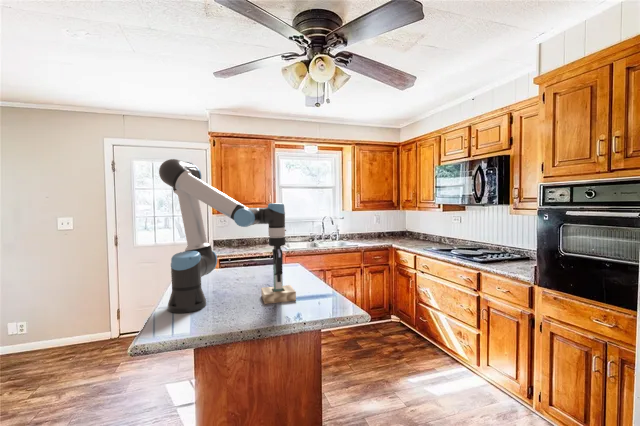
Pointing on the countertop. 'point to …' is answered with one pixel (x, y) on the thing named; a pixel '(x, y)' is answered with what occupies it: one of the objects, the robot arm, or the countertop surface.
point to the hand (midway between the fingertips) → (278, 287)
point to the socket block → (278, 294)
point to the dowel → (275, 279)
